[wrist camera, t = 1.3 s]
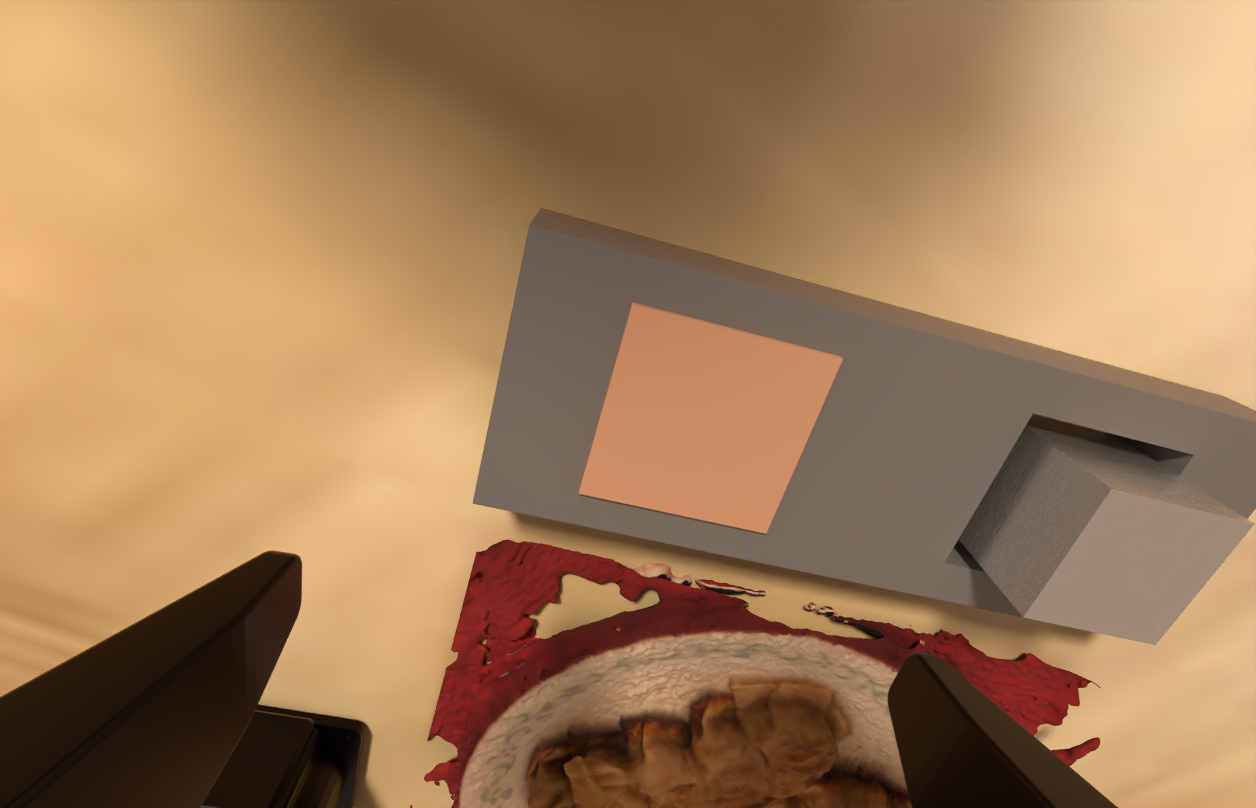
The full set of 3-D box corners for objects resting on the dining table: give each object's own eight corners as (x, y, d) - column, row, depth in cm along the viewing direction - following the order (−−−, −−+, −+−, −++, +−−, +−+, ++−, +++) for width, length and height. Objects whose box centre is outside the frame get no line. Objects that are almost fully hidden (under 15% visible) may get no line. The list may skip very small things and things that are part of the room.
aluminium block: (1030, 523, 24) (1155, 645, 18) (925, 499, 23) (1022, 617, 18) (1095, 422, 22) (1254, 523, 17) (983, 393, 22) (1111, 488, 16)
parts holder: (1088, 585, 25) (1151, 647, 22) (489, 454, 22) (471, 507, 19) (1224, 396, 22) (1320, 440, 19) (541, 208, 18) (528, 226, 16)
